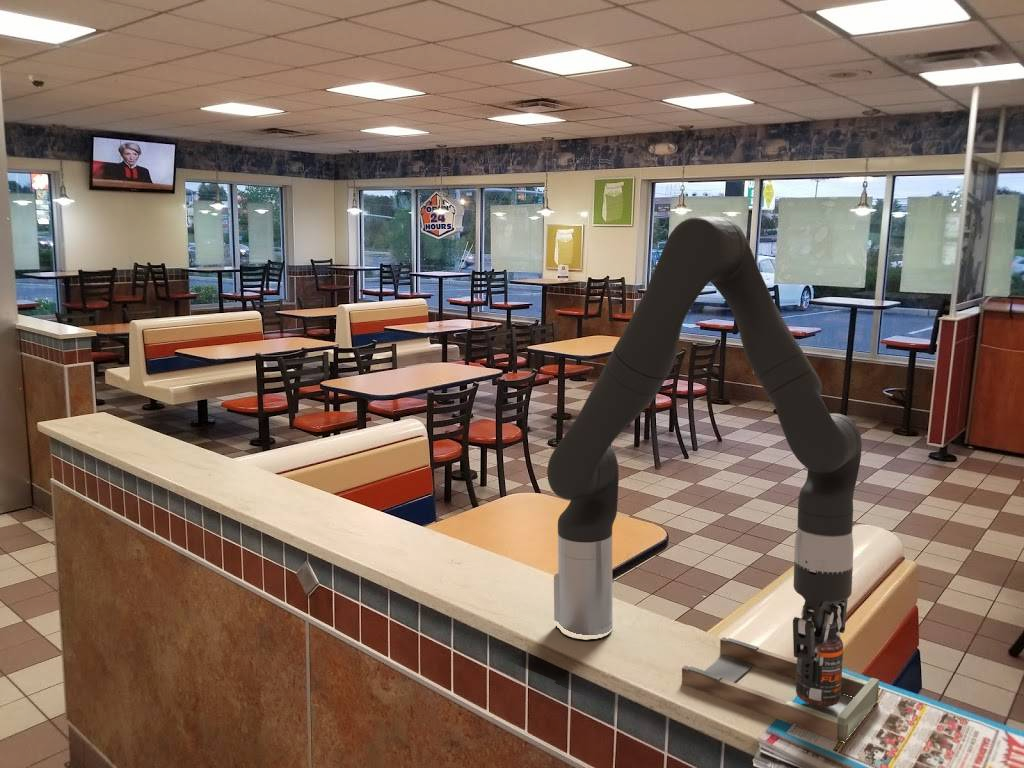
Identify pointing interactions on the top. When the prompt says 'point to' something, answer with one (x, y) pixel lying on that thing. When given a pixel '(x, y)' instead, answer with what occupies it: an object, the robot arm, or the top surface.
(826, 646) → the supplement bottle
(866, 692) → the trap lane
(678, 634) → the top surface
